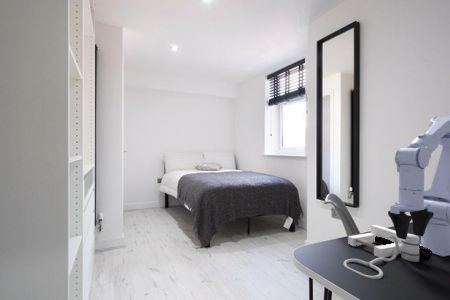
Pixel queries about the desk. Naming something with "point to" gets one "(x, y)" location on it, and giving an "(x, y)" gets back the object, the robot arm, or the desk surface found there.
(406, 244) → the white ridged cylinder
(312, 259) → the desk surface
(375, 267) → the hook
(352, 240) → the notched shelf
